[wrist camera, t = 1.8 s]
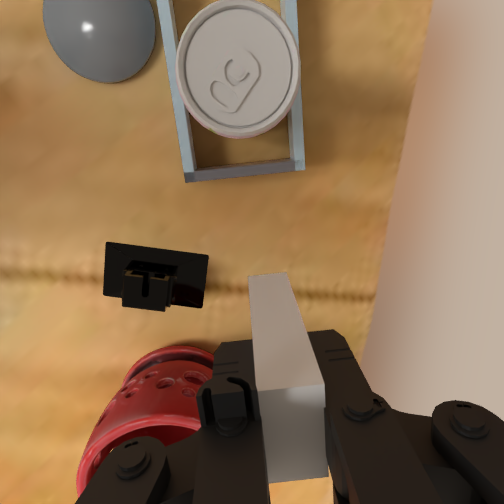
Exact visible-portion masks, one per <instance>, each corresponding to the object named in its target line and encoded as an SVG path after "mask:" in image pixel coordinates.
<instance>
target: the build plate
mask: <svg viewBox="0 0 504 504" xmlns="http://www.w3.org/2000/svg"><path fill="white" fill-rule="evenodd" d="M208 259H209V256H208V255H204V254H197V253H189V252H182V251H174V250H167V249H159V248H151V247H144V246H136V245H129V244H121V243H114V242H106V247H105V267H104V286H103V295H104V296H110V297H118V298H122V307H130V308H138V309H146V310H154V311H162V312H165V311H166V308H167V307H170V306H171V305H178V306H186V307H193V308H202V307H203V299H204V291H205V283H206V275H207V267H208Z"/></svg>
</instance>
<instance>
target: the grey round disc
mask: <svg viewBox="0 0 504 504" xmlns="http://www.w3.org/2000/svg"><path fill="white" fill-rule="evenodd" d="M43 21H44V26H45V30H46V33H47V36H48V39H49V41H50V43H51V45H52V47H53V49H54V51H55V52H56V54H57V55H58V56H59V58H60V59H61V60H62V61H63V62H64V63H65V64H66V65H67V66H68V67H69V68H70V69H72V70H73V71H74V72H76V73H77V74H79V75H81V76H83V77H85V78H88V79H90V80H93V81H97V82H102V83H116V82H121V81H124V80H127V79H129V78H131V77H133V76H134V75H135V74H137V73H138V72H139V71H140V70H141V69H142V68H143V67H144V66H145V64H146V63H147V61H148V60H149V58H150V56H151V54H152V51H153V48H154V44H155V38H156V24H155V17H154V12H153V9H152V6H151V3H150V1H149V0H44V2H43Z"/></svg>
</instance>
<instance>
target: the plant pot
mask: <svg viewBox="0 0 504 504" xmlns="http://www.w3.org/2000/svg"><path fill="white" fill-rule="evenodd" d="M213 361H214V355H212V354H211V353H209V352H207V351H204V350H201V349H199V348H195V347H189V346H169V347H164V348H161V349H158V350H155V351H152V352H150V353H148V354H147V355H145V356H144V357H142V358H141V359H140V360H138V361H137V362H136V363H135V364H134V365H133V366H132V368H131V369H130V370H129V372H128V373H127V375H126V377H125V379H124V381H123V384H122V388H121V389H120V390H119V391H118V392H117V394H116V395H115V396H114V397H113V399H112V400H111V401H110V403H109V404H108V406H107V407H106V409H105V410H104V412H103V413H102V415H101V417H100V419H99V421H98V422H97V424H96V426H95V428H94V430H93V432H92V434H91V436H90V438H89V441H88V443H87V445H86V448H85V450H84V453H83V456H82V458H81V461H80V464H79V467H78V471H77V478H76V485H77V493H78V498H79V497H80V495H81V494H82V492H83V491H84V489H85V488H86V486H87V484H88V483H89V481H90V480H91V478H92V477H93V475H94V474H95V472H96V471H97V469H98V468H99V466H100V465H101V463H102V462H103V460H104V459H105V458H106V457H107V456H108V454H109V453H110V451H111V450H112V449H114V448H116V447H117V446H119V445H120V444H122V443H123V442H125V441H127V440H130V439H133V438H135V437H143V436H150V437H153V438H157V439H159V440H160V441H161V442H162V443H163V444H164V446H165V447H166V446H168V445H171V444H174V443H176V442H179V441H181V440H183V439H185V438H187V437H189V436H191V435H192V434H194V433H195V432H196V431H198V429H199V428H200V427H201V423H200V418H199V412H198V407H197V401H196V394H197V392H198V390H199V388H200V387H201V386H202V385H203V384H204V383H205V382H206V381H208V380H209V379H211V378H212V371H213Z"/></svg>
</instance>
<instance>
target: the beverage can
mask: <svg viewBox="0 0 504 504" xmlns="http://www.w3.org/2000/svg"><path fill="white" fill-rule="evenodd" d="M175 72H176V82H177V86H178V90H179V93H180V96H181V98H182V100H183V102H184V104H185V106H186V108H187V109H188V111H189V112H190V113H191V115H192V116H193V117H194V119H196V120H197V121H198V122H199V123H200V124H201V125H202V126H203V127H205V128H206V129H208V130H210V131H212V132H213V133H215V134H218V135H221V136H224V137H227V138H237V139H242V138H251V137H255V136H257V135H260V134H263V133H265V132H267V131H268V130H270V129H272V128H273V127H275V126H276V125H277V124H278V123H279V122H280V121H281V120H282V119H283V118H284V117H285V116H286V114H287V113H288V111H289V110H290V108H291V107H292V105H293V103H294V100H295V98H296V96H297V94H298V89H299V84H300V80H301V60H300V54H299V48H298V46H297V43H296V40H295V37H294V35H293V33H292V31H291V30H290V28H289V27H288V25H287V23H286V22H285V21H284V20H283V19H282V18H281V17H280V16H279V15H278V13H277V12H275V11H274V10H272V9H271V8H270V7H268V6H267V5H265V4H263V3H261V2H258V1H255V0H219V1H217V2H214V3H211V4H209V5H208V6H207V7H205V8H204V9H202V10H201V11H199V12H198V13H197V14H196V15H195V17H194V18H193V19H192V20H191V21H190V22H189V24H188V25H187V27H186V29H185V30H184V32H183V34H182V36H181V39H180V42H179V45H178V48H177V54H176V63H175Z"/></svg>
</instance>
